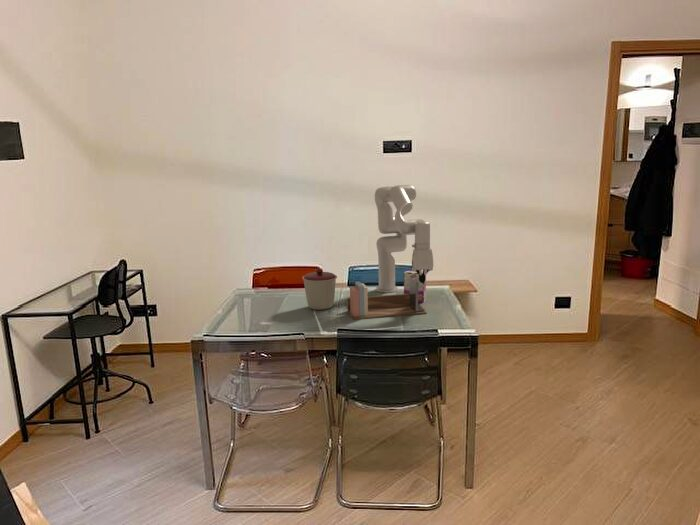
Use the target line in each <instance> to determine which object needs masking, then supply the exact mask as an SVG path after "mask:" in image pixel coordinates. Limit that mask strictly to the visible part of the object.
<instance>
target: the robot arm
mask: <svg viewBox="0 0 700 525" xmlns="http://www.w3.org/2000/svg"><path fill="white" fill-rule="evenodd" d="M416 197H417V191H416V188H415V187H414V186H413V185H411V184H402V185H394V186H382V187H378V188H376V190H375V192H374V202H375V205H376V208H377V224H378V231H379V233H380V234H382V235H385V236H381V237H378V239H377V240H376V249H377V256H378V257H377V258H378V286H377V287H376V288H375V290H376V291H377V292H378V293H385V294H387V293H394V292H397V291H398V290H399V288H398V286H396V260H395V258H394V256H393V255H392V253H401V252H404V251H405V250H406V248H407V244H408V242H407V241H408V240H407V239H408V238H407V236H412V235H414V242H413V243H414V244H411V247H412V248H414V249H412V250H413V251H412V257H411V267H412V268H411V271H413V272H417V273H418V274H419V281H420V282H421V283H425V280H426V281H427V274H428V273H429V272H431V271H433V270H434V269H433V268H434V255H433V249H432V248H431V223H430V222H428V221H426V220H423V219H422V218H421V219H419V218H418V219H406V220H405V218H404V217H405V216H406V215H407V214H409V213H410V212H411V211H412V209H413V203H412V202H411V201H414V200H416ZM390 203H393V205H394V207H395V208H396V212H395V213H394V210H393V207H392V205H391V204H390ZM393 213H394V214H395V215H394V214H393ZM388 234H395V235H388ZM386 235H387V236H386ZM422 272H423V273H422Z"/></svg>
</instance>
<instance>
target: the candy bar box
mask: <svg viewBox="0 0 700 525" xmlns="http://www.w3.org/2000/svg"><path fill="white" fill-rule="evenodd" d="M422 273H423V271H422ZM410 278H413V279H414V280H416V281H417V282H418V303H420V304H421V303H422V304H424V303H425V302H426V301H427V279H426V280H425V283H421V282H420V281H419V274H418V273H417V272H413V271H412V270H406V271H403V294H410Z"/></svg>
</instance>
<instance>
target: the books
mask: <svg viewBox="0 0 700 525" xmlns="http://www.w3.org/2000/svg"><path fill="white" fill-rule="evenodd" d="M354 284H355V285H353V286H349V298H350V309H351V313H352V314H353V316H354V317H357V316H368V297H369V296H368V293H369V292H368V287H367V285H366V284H365V283H363V282H362V283H361V282H360V281H355V282H354Z"/></svg>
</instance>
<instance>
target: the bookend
mask: <svg viewBox="0 0 700 525" xmlns="http://www.w3.org/2000/svg"><path fill="white" fill-rule="evenodd" d="M410 307H411V308H412V309H413V310H415V311H416V312H417V311H426V310H425V308H423V307H422V306H421V305H420V304H419V302H418V282H417V281H416V280H414V279H413V278H410Z"/></svg>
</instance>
